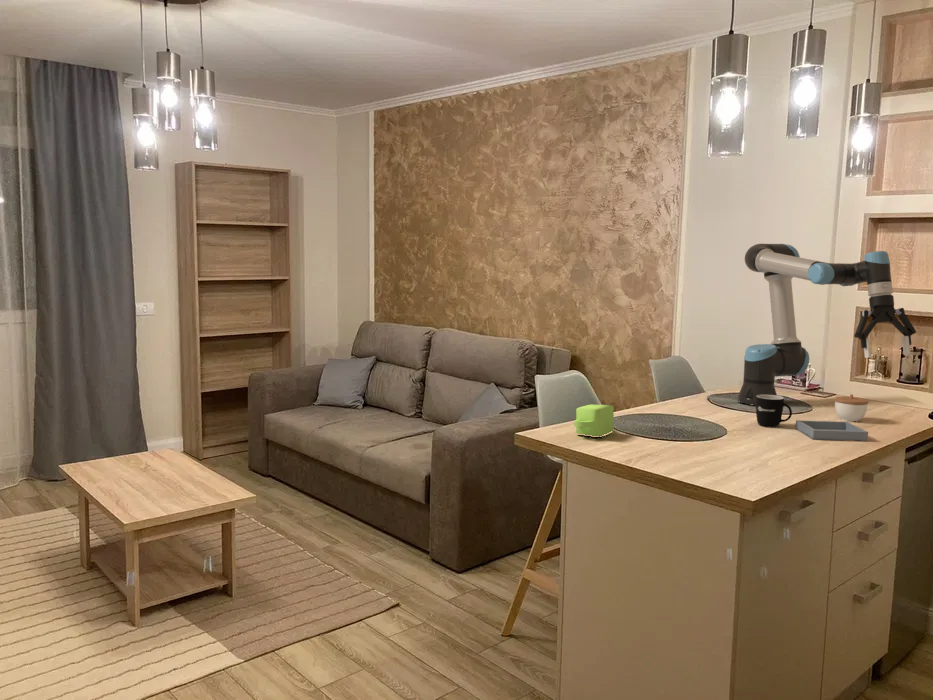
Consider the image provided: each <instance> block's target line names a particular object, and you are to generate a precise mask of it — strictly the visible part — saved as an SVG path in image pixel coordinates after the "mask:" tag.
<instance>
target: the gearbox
mask: <svg viewBox="0 0 933 700" xmlns="http://www.w3.org/2000/svg"><path fill="white" fill-rule="evenodd" d="M614 414H615V413H614V405H608V404H592V403H591V404H587V405H586V404H585V405H583V406H580V407H577V408H576V410H575V415H576V416H575V420H574V421H573V425H574V426H573V427H575V429H576V430H575V431H576V432H575V433H578V434H585V435H592V436H599V437H600V436H602V435H604V434H607V433H609V432H611V431H613V432H614V426H615V425H614V421H615V420H614V419H615V418H614V417H615V416H614Z"/></svg>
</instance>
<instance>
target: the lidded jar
mask: <svg viewBox="0 0 933 700" xmlns="http://www.w3.org/2000/svg"><path fill="white" fill-rule="evenodd" d="M868 404H869V400H868V399H866V398H862V397H856V396H854V394H852V393H851V394H849V396H847V395H846V396H844V395H843V396H841V395H840V396H836V397H835V398H834V411H835V413H836V416H838V418H839V419H840V420H841V421H843V420H845V421H844V422H849V421H851V422H852V423H853V421H856V422H855V423H858V422H860V420H861V419H863V418H864V417H865V416H866V413H867V410H868ZM857 421H858V422H857ZM851 422H850V423H851Z"/></svg>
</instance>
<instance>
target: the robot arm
mask: <svg viewBox="0 0 933 700" xmlns="http://www.w3.org/2000/svg"><path fill="white" fill-rule="evenodd" d="M744 263H745V265H746V267H747V269H748V270H750V271H752V272H755V273H762V274H763V277H764V280H766V281H767V282H768V289H769V291H768V292H769V300H770V302H769V303H770V310H771V311H770V313H771V320H772V322H771V323H772V333H773V340H772V342H770V343H764V344H761V343H759V344H758V343H757V344H753V345H749V346H748V347H746V349H745V354H744V357H743V358H744V362H743V363H744V365H743V383H742V385H741V387H740V390H739V392H738V395H737V402H738V401H740V402H742V403H746V404H753V405H756V396H757V395H776V396H778V394H777V391H776V387H775V381H776V380H775V379H776V378H775V377H794V376H799V375H801V374H803V373H804V372H805V371H806V369H808V367H809V364H810V354H809V351H807V349H806V348H805V347H803V346H802V341H801V340H800V339H799V338H798V337H797V328H796V327H797V326H796V317H795V316H796V315H795V305H794V295H793V286H792V285H793V283H792V279H793V278H797V279H800V280H804V281H805V280H806V281H810V282H811V283H812V284H814V285H820V286H824V285H839V286H841V287H848V286H849V287H852V286H854V285H860V284H863V283H867V291H868V292H867V293H868V294H867V295H868V296H869V298H868V302H869V303H868V304H869V308H870V310H868V309H864V310H862V311H861V313H860V315H861V316H860V320H859V321H858V325H857V328H856V329H855V330H856V331H855V333H854V335H853V336H854V338H855V339H856V338H857V339H858V340H860V346H861V349H863V352H864V354H863V355H864V358H865V359H868V358H872V353H871V344H870V343H871V342H870V338H869V337H868V336H869V335H870V334H871V332H872V331H873V329H874V328H875V326H876V324H880V323H889V324H892V325H893V326H894V328H896V330H897V331H898V332H900V334H902V335H903V336H901V342H902V350H903V351H902V352H903V356H911V347H910V346H912V336H913V335H914V334H916V333H917V330H916V329H915V327H914V326H913V324H912V323H911V321H910V319H909V317H908V316H907V314H906V312H905V309H904V307H899V308H897V309H896V308H895V299H894V295H893V293H894V291H893V290H894V289H893V282H892V273H891V272H892V271H891V262H890V256H889V253H888V252H887V251H885V250H876V251H870V252H867V253H865V254H864V257H863V260H862V261H859V262H854V263H841V262H840V263H834V262H833V263H831V262H824V261H820V260H815V259H808V258H805V257H800V253H799V252H798V250H797V248H796V247H794V246H793V245H791V244H786V243H756V244H754V245H751V246H750V247H749V248H748V249H747V250H746V252H745V255H744ZM895 315H897V316H895ZM870 316H871V319H870V321H869V323H868V324H867V322H868V319H869V317H870ZM897 317H898V318H897ZM898 319H899V320H898ZM866 324H867V325H866ZM867 337H868V338H867ZM742 403H741V404H742ZM746 404H745V405H746Z"/></svg>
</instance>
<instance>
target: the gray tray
mask: <svg viewBox="0 0 933 700" xmlns="http://www.w3.org/2000/svg"><path fill="white" fill-rule="evenodd" d="M795 430H797V431H799V433H802V434H803V435H804V436H807V437H808V438H810V439H812V440H813V441H815V440H819V441H845V440H860V441H859V442H868V437H869V431H867V430H865V429H863V428H860V427H859V426H857V425H855V424H852V423H851V422H849V421H837V420H836V421H834V420H833V421H831V420H799V419H797V420H795Z"/></svg>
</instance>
